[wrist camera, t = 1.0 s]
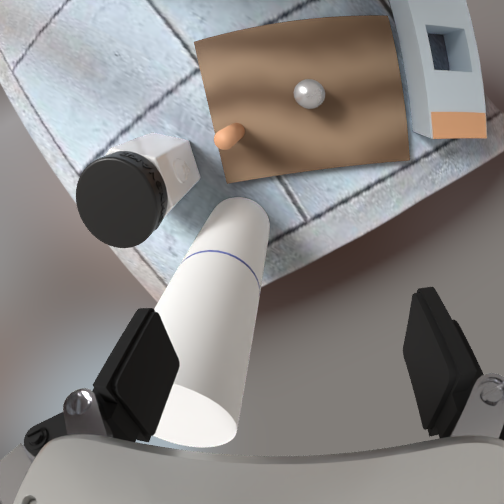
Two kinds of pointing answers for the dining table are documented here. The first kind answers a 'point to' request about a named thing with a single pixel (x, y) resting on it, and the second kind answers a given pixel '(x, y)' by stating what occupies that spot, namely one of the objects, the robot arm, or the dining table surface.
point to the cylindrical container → (214, 323)
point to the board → (290, 112)
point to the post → (309, 93)
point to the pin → (229, 136)
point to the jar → (135, 188)
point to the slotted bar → (441, 81)
